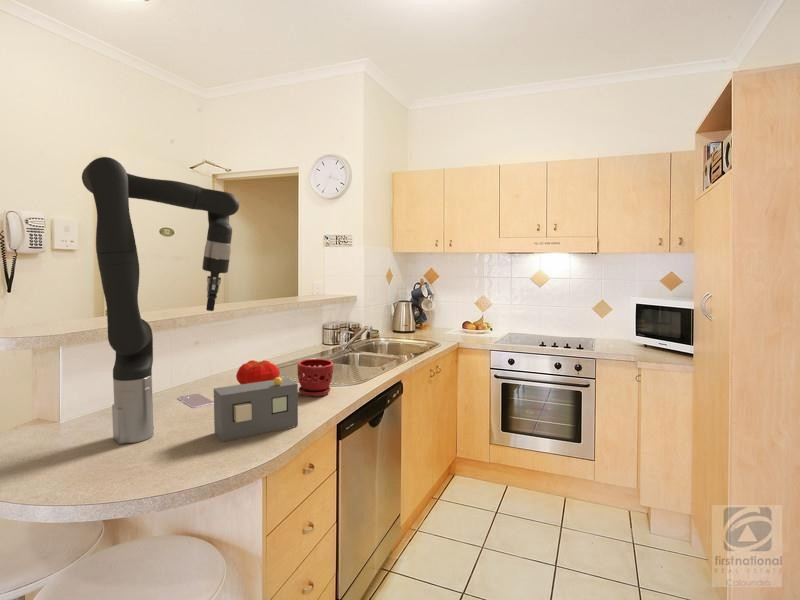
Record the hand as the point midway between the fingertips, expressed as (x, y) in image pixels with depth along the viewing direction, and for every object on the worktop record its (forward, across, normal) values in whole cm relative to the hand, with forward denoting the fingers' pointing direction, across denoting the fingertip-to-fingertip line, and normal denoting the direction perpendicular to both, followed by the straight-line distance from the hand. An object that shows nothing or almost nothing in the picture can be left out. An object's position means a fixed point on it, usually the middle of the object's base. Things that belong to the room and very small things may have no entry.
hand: (209, 310), depth 146 cm
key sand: (+24, +27, +11) cm, 38 cm away
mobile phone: (+36, -12, 0) cm, 38 cm away
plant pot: (+29, -7, +40) cm, 50 cm away
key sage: (+23, +23, +21) cm, 39 cm away
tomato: (+34, -24, +22) cm, 46 cm away
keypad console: (+30, +23, +16) cm, 41 cm away
